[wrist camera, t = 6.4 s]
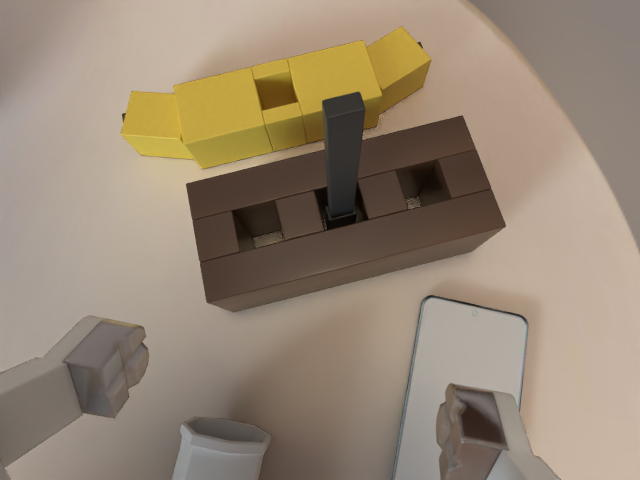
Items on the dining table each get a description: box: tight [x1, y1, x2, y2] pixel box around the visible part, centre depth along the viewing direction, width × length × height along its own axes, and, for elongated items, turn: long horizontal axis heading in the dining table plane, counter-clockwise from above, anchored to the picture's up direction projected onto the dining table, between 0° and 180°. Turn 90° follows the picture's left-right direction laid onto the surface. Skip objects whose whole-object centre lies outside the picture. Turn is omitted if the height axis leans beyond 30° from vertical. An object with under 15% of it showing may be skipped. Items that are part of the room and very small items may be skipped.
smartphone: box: [392, 295, 528, 480], centre depth 25 cm, size 7×1×15 cm
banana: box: [121, 26, 432, 169], centre depth 30 cm, size 6×23×4 cm, turn 104°
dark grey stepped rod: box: [322, 92, 366, 230], centre depth 22 cm, size 2×1×16 cm, turn 104°
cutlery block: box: [186, 116, 506, 312], centre depth 27 cm, size 7×17×6 cm, turn 104°
